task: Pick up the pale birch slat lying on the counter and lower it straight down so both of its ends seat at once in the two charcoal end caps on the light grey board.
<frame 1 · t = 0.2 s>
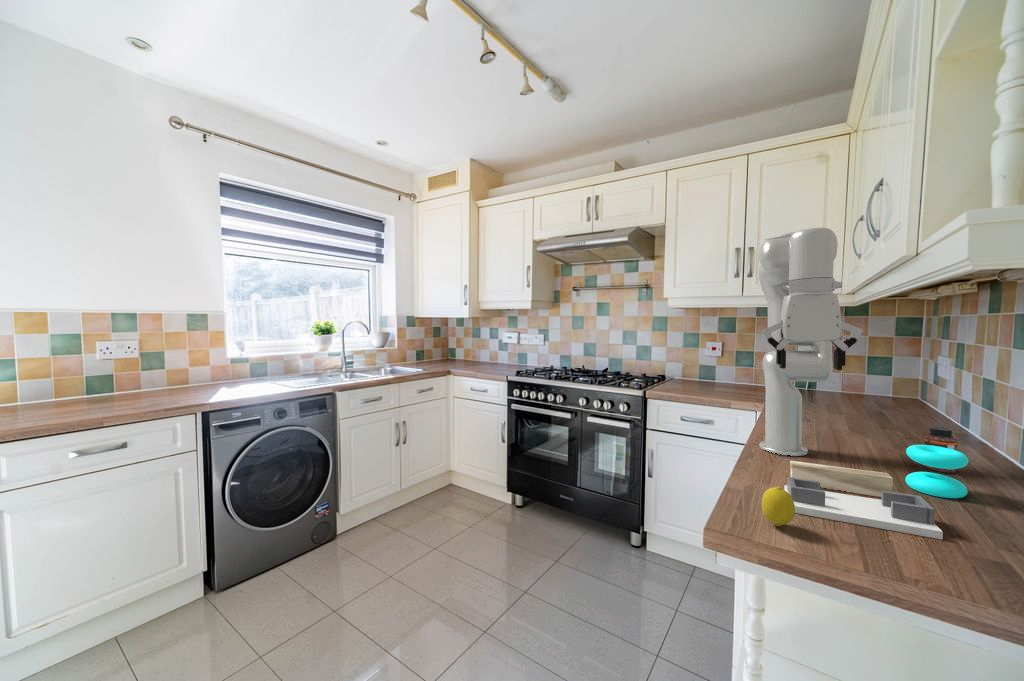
hand: (809, 368, 84), 31 cm above the worktop, tool pointing down, fingers open, 9 cm apart
board: (853, 512, 83), on the worktop
slat: (837, 489, 96), on the worktop
supplement bottle: (939, 470, 106), on the worktop
lemon: (777, 527, 78), on the worktop
donuts: (935, 492, 93), on the worktop
end caps: (853, 498, 83), on the board, point 3 cm above the worktop
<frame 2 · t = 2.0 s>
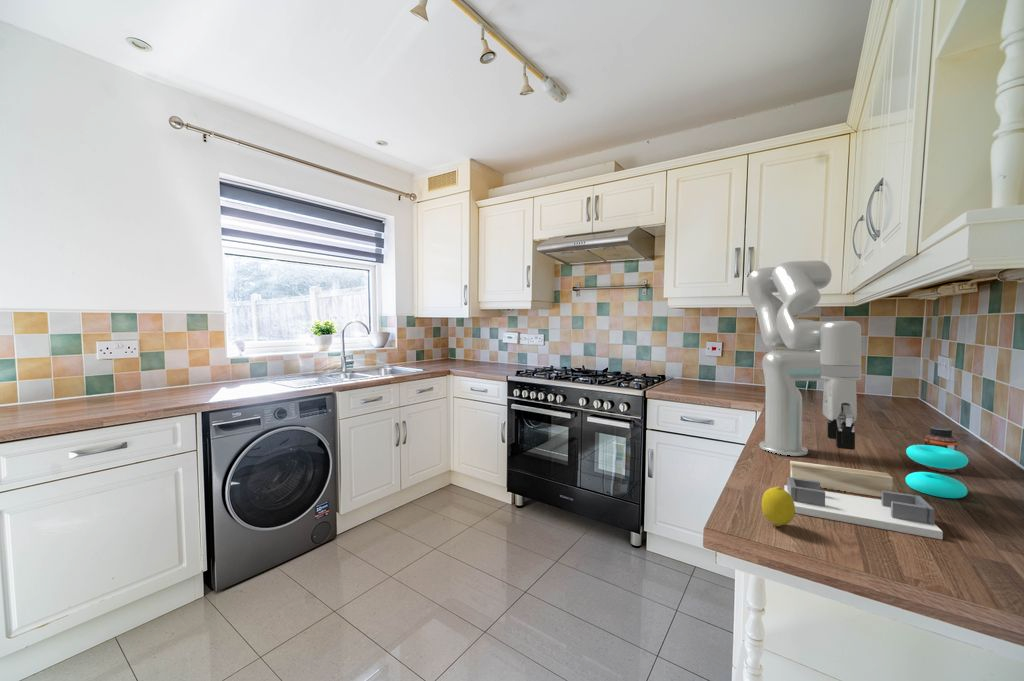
hand: (840, 443, 94), 11 cm above the worktop, tool pointing down, fingers open, 9 cm apart
nothing on the worktop moved.
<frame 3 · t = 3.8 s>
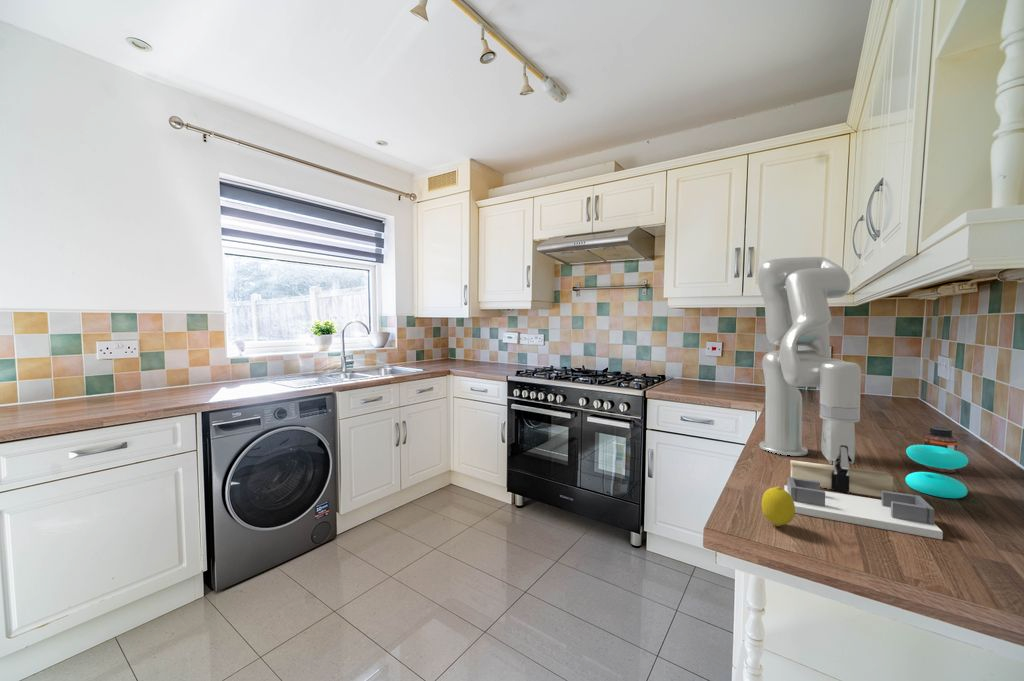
hand: (838, 486, 96), 0 cm above the worktop, tool pointing down, fingers closed on slat, 3 cm apart
slat: (838, 488, 96), on the worktop, touching gripper
everything else where it was.
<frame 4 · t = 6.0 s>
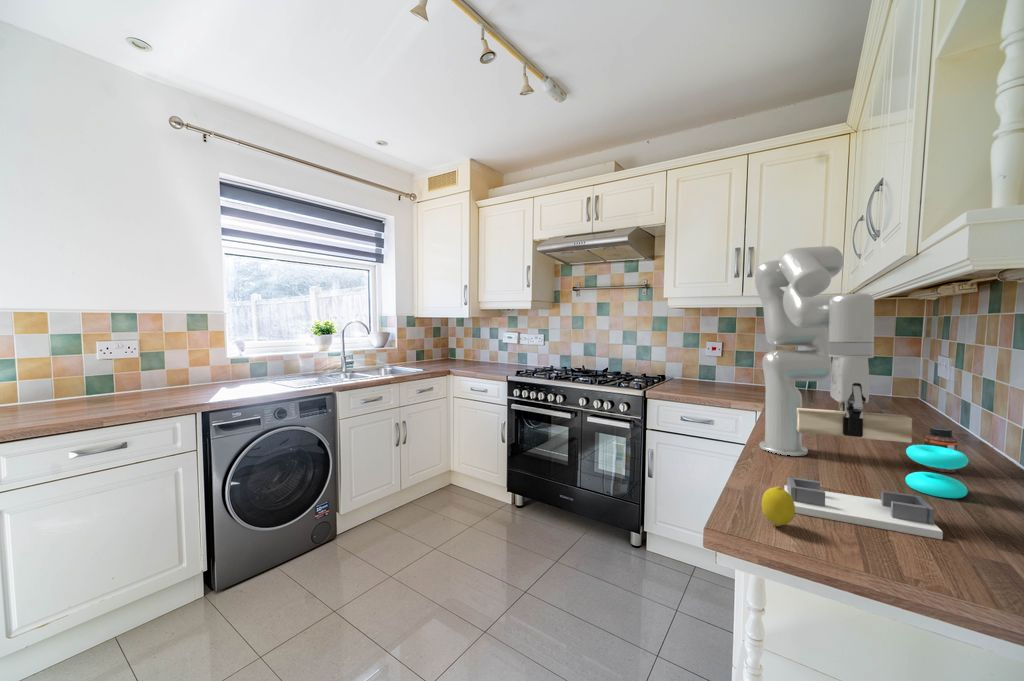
hand: (850, 432, 86), 16 cm above the worktop, tool pointing down, fingers closed on slat, 3 cm apart
slat: (850, 435, 87), point 15 cm above the worktop, touching gripper
everything else where it was.
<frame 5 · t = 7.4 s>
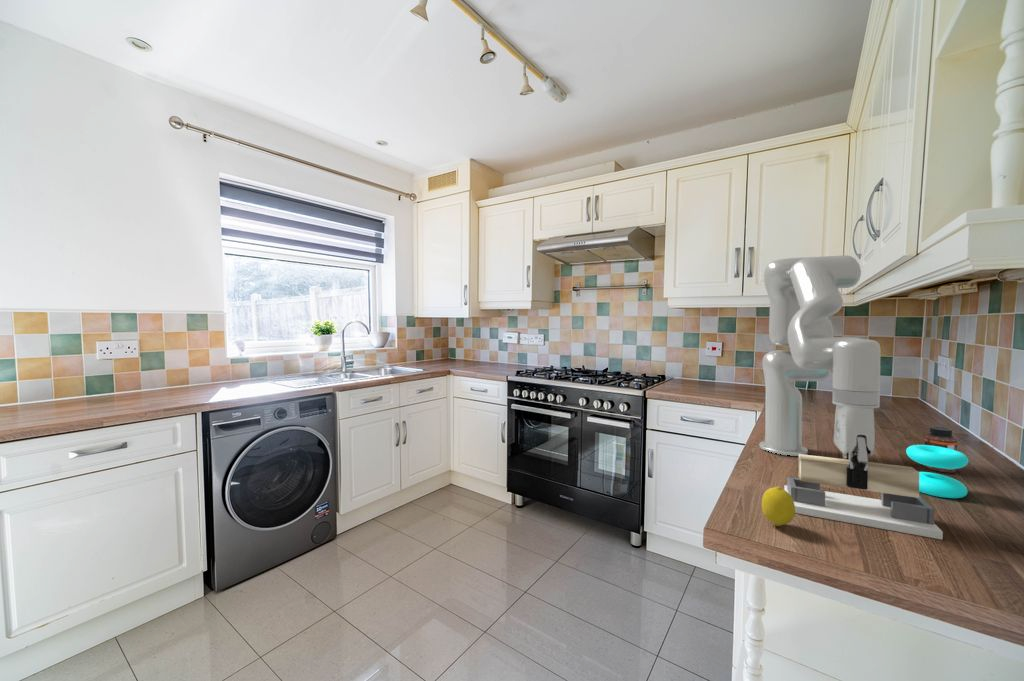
hand: (854, 483, 83), 6 cm above the worktop, tool pointing down, fingers closed on slat, 3 cm apart
slat: (854, 486, 83), point 6 cm above the worktop, touching gripper
everything else where it was.
when the fingers open (3 cm above the worktop, at t = 8.4 s): slat stays where it is, resting on board.
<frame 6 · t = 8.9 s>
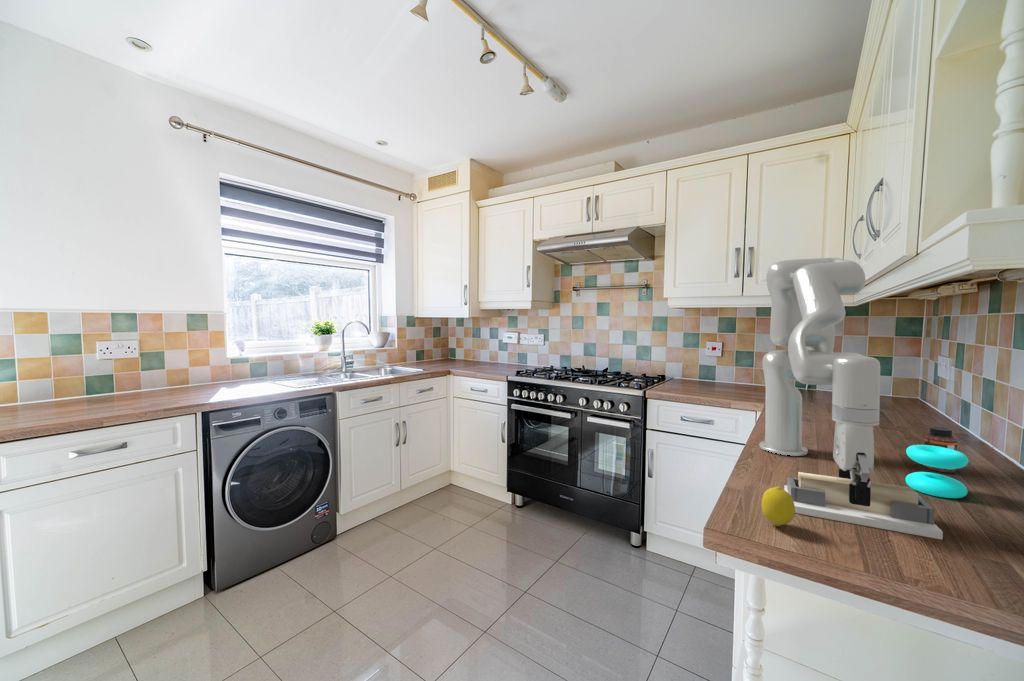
hand: (853, 495, 83), 4 cm above the worktop, tool pointing down, fingers open, 8 cm apart
slat: (853, 505, 83), point 1 cm above the worktop, touching board
everything else where it was.
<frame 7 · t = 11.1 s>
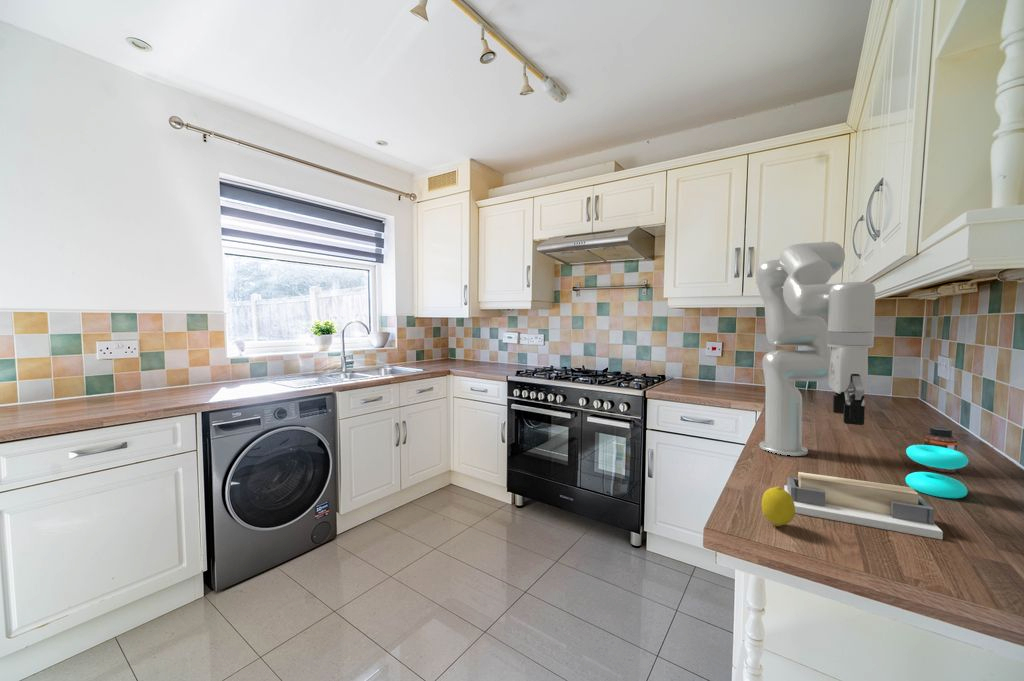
hand: (847, 418, 86), 19 cm above the worktop, tool pointing down, fingers open, 9 cm apart
nothing on the worktop moved.
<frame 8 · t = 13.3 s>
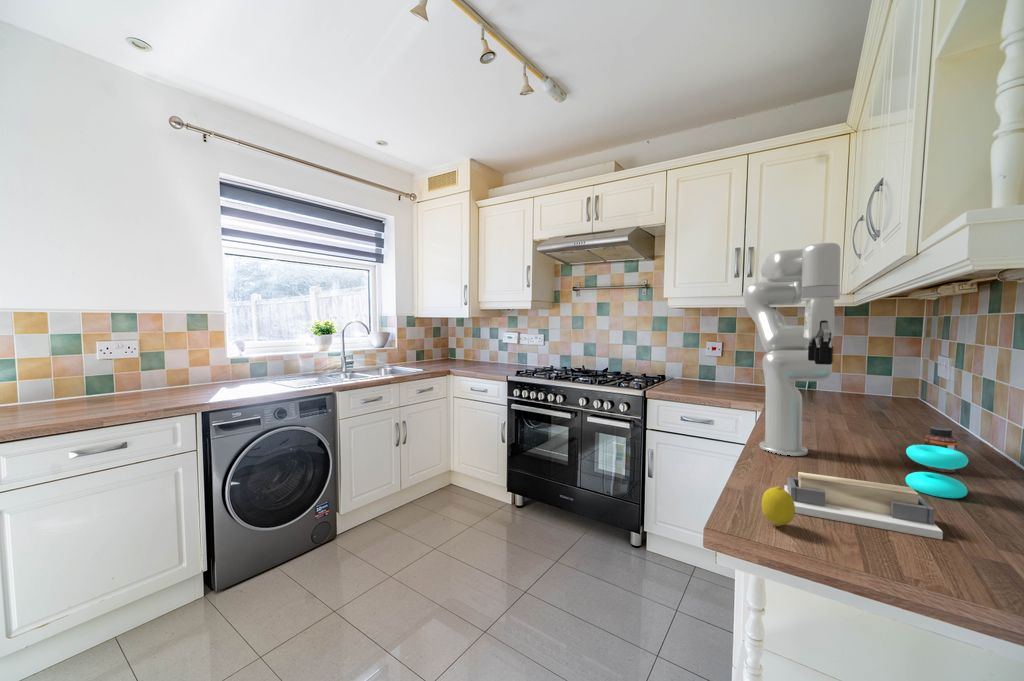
hand: (819, 362, 99), 30 cm above the worktop, tool pointing down, fingers open, 9 cm apart
nothing on the worktop moved.
at the end: slat 0.0 cm off-centre on the end caps, point 1.5 cm above the end caps's base; slat tilted 0°; the gripper is holding nothing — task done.
